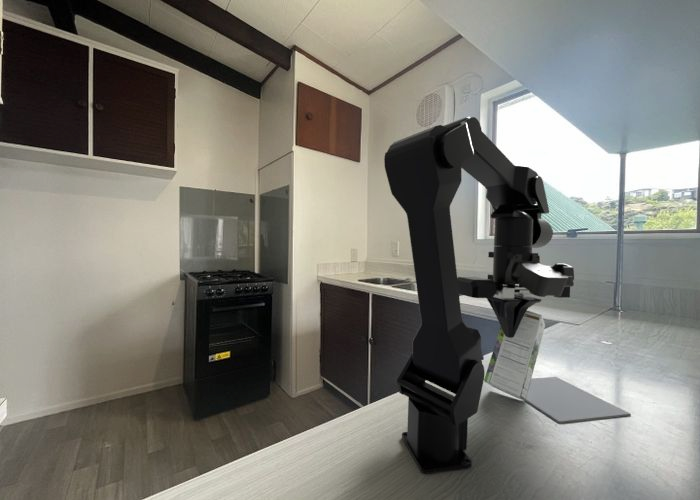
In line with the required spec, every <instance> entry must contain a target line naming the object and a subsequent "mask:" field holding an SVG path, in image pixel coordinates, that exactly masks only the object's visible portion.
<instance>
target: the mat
mask: <svg viewBox="0 0 700 500" xmlns="http://www.w3.org/2000/svg"><path fill="white" fill-rule="evenodd" d="M524 401H525V402H526V403H528V404H529V405H531V406H532V407H534V408H536V409H537V410H538V411H539V412H542V413H543V414H544V415H545V416H547V417H549V418H551V419H552V420H554V422H556V423H558V424H565V423H575V422H576V423H577V422H583V421H584V422H585V421H594V420H603V419H610V418H620V417H628V416H629V417H630V416H631V415H632V414H631V412H628V411H626V410H624V409H622V408H621V407H618V406H616V405H614V404H613V403H610V402H608V401H606V400H604V399H602V398H600V397H598V396H596V395H594V394H591V393H589V392H588V391H585V390H584V389H581V388H579V387H578V386H575V385H574V384H572V383H570V382H567V381H566V380H563V379H561V378H559V377H557V376H550V377H534V378H533V377H532V378H531V382H530V385H529V389H528V393H527V396H526V400H524Z"/></svg>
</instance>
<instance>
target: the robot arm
mask: <svg viewBox="0 0 700 500" xmlns="http://www.w3.org/2000/svg"><path fill="white" fill-rule="evenodd" d="M383 159H384V162H383V163H384V170H385V174H386V178H387V181H388V185H389V190H390V193H391V195H392V196H393V198H394V199H395V200H396V202H397V203H398V204H399V206H400V207H401V208H402V209H403V211H404V212H405V213H406V217H407V218H406V219H407V226H408V231H409V240H410V247H411V254H412V255H411V256H412V263H413V269H414V270H413V271H414V276H415V277H414V278H415V285H416V292H417V299H418V307H419V315H420V325H419V327H418V330H417V331H416V334H415V335H414V337H413V339H412V354H410V357H409V358H408V360H407V362H406V363H405V366H404V367H403V369H402V371H401V372H400V374H399V376H398V378H397V379H396V385H397V389H398V392H399V394H401V395H402V396H405V397H407V399H408V400H407V401H408V403H407V404H408V405H407V427H406V430H407V431H403V432H402V433H401V438H402V440H403V442H404V443H405V446H406V447H407V449H408V451H409V453H410V455H412V458H413V459H414V461H415V463H416V465H417V467H418V468H419V471H420V472H422V473H423V474H431V473H438V472H444V471H452V470H460V469H467V468H468V469H469V468H471V467H472V465H473V461H472V459H471V458H470V456H469V455H468V454H467V453H466V452H465V451H467V447H468V444H467V443H468V426H469V425H468V424H469V422H468V421H469V419H470V418H471V417H472V416H474V415H476V414H477V412H478V410H479V405H480V400H481V395H482V390H483V387H484V386H483V385H484V382H485V381H484V379H485V375H486V372H485V366H484V364H483V361H484V359H485V358H484V355H483V351H482V337H481V334H480V332H479V330H478V329H476V328H472V327H468V326H466V324H465V323H464V321H463V318H462V309H461V301H460V295H461V296H466V297H468V298H473V299H487V300H486V301H487V302H488V303H489V304H490V307H491V308H492V310H493V312H494V315H495V316H496V319H497V321H498V323H499V325H500V327H501V328H502V330H503V332H504V334H505V336H506V337H509V338H513V337H514V335H515V333H516V331H517V329H518V327H519V325H520V322H521V320H522V318H523V316H524V314H525V312H526V311H528V309H530V308H531V307H532V306H534V305H535V304H537V303H541V302H542V300H543V299H541V298H545V297H549V296H551V297H552V296H553V297H554V298H561V299H562V298H571V287H574V284H575V283H574V280H575V271H574V267H573V266H571V265H570V264H567V263H554V265H553V266H552V265H545V264H543V263H541V262H540V261H541V259H540V258H541V257H540V255H539V253H538V252H533V249H538V248H542V247H545V246H546V245H548V244H549V243H550V242H551V241H552V238H553V235H554V230H553V229H552V226H551V224H550V223H549V222H547V220H545V219H543V218H542V215H544V214H545V215H546V214H549V213H550V207H549V204H548V198H547V195H546V194H547V193H546V189H545V184H544V180H543V178H542V177H541V176H540V175H539V174H538V173H537V171H535V170H534V169H533V168H531V167H530V166H527V165H523V164H522V165H520V164H515V163H512V161H510V159H509V158H508V157H507V156H506V155H505V154H504V153H503V152H502V151H501V150H500V149H499V148H498V147H497V145H496V144H495V143H494V142H493V141H492V140H491V139H490V138H489V137H488V136H487V135H486V134H485V133H484V132H483V131H482V126H481V122H480V121H479V119H478V118H476V117H475V116H472V117H470V116H465V117H463V118H460V119H457V120H455V121H452V122H450V123H447V124H444V125H442V124H438V125H435V126H432V127H429V128H427V129H424V130H422V131H419V132H416V133H414V134H411V135H409V136H406V137H404V138H401V139H398V140H397V141H394V142H392V143H391V145H389V147H388V150H387V151H386V152H385V153H384V158H383ZM462 170H464V171H465V173H467V174H469V175H470V176H471V177H472V178H473V179H474V180H476V181H477V182H478V183H480V185H482V186H483V187H484V189H486V195H485V199H487V201H488V202H489V203H490V205H491V207H492V209H493V211H492V213H491V214H490V218H491V219H493V220H494V233H493V251H488V257H487V258H490V259H491V258H493V259H492V260H493V261H492V262H493V263H492V274H489V273H488V274H487V278H483V277H476V276H458V274H457V273H458V272H457V264H456V263H457V262H456V255H455V246H454V238H453V237H454V236H453V228H452V217H451V204H452V203H453V200H454V198H455V196H456V194H457V192H458V189H459V187H460V185H461V183H462ZM536 297H539V298H536ZM428 382H429V383H428ZM430 383H431V384H430ZM432 384H434V385H432ZM435 385H436V386H435ZM437 386H438V387H439V388H438V387H437ZM440 388H442V389H440ZM443 389H444V390H446V391H448V392H446V391H444V390H443ZM449 392H450V393H449ZM451 393H452V394H451ZM453 394H454V395H453Z"/></svg>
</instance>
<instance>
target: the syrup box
mask: <svg viewBox="0 0 700 500" xmlns="http://www.w3.org/2000/svg"><path fill="white" fill-rule="evenodd" d="M499 327H500V328H499V331H498V334H497V337H496V339H495V344H494V348H493V350H492V353H491V356H490V360H489V363H488V367H487V370H486V372H485V374H484V381H483V382H484V383H485V384H487V385H489V386H491V387H492V388H494V389H496V390H498V391H501V392H503V393H505V394H507V395H509V396H512V397H513V398H517V399H519V400H522V401H525V400H526V396H527V393H528V389H529V385H530V382H531V378H533V373H534V370H535V366H536V362H537V358H538V355H539V352H540V351H539V350H540V347H541V343H542V340H543V335H544V332H545V328H546V323H545V320H544V319H543V315H542V314H539V313H536V312H534V311H531V310H527V311H526V312H525V314H524V316H523V318H522V320H521V322H520V325H519V327H518V329H517V331H516V333H515V335H514V337H513V338H509V337H506V336H505V334H504V332H503V330H502V328H501V326H499Z"/></svg>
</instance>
